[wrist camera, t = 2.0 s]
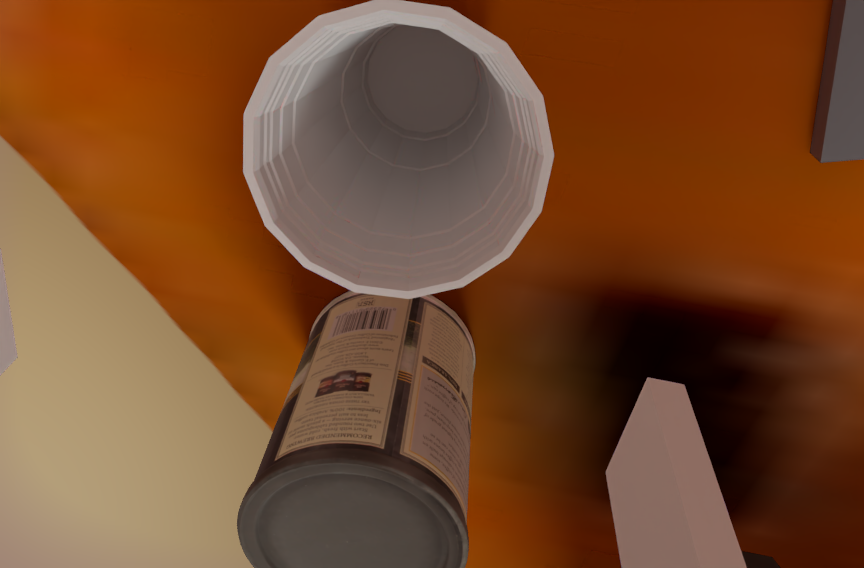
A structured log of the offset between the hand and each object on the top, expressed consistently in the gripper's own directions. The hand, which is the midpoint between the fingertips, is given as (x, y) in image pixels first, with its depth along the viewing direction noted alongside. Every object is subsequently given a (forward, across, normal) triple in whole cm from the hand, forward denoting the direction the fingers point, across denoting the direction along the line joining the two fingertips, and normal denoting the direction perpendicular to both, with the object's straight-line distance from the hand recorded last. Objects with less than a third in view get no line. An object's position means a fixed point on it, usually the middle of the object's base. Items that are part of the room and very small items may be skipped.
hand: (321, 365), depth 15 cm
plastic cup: (+24, 0, 0) cm, 24 cm away
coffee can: (+23, -1, +17) cm, 29 cm away
